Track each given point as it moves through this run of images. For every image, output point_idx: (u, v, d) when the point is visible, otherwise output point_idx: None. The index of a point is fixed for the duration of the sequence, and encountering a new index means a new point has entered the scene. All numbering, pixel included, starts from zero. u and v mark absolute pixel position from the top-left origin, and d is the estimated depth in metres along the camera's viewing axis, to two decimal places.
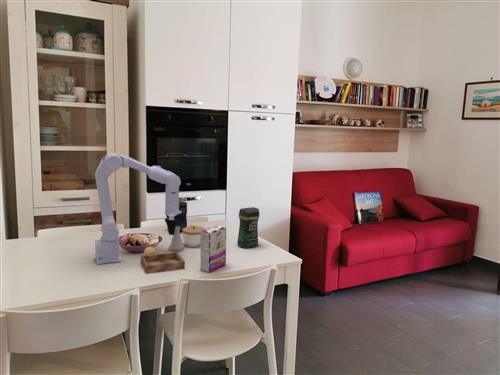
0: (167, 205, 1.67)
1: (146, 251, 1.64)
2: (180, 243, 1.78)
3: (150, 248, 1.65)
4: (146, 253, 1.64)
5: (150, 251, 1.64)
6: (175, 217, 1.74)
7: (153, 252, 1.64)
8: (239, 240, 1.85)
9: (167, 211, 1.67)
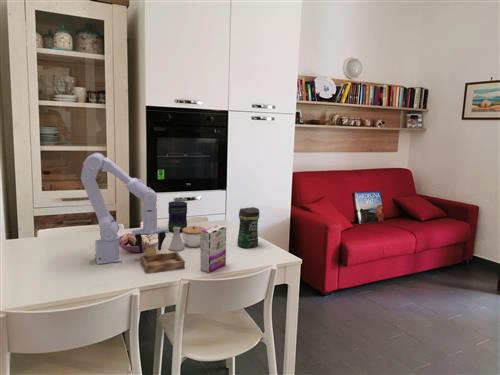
0: None
1: (146, 251, 1.64)
2: (180, 243, 1.78)
3: (150, 248, 1.65)
4: (146, 253, 1.64)
5: (150, 251, 1.64)
6: (159, 238, 1.65)
7: (153, 252, 1.64)
8: (239, 240, 1.85)
9: None
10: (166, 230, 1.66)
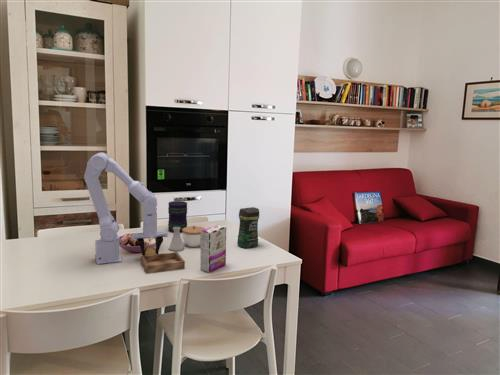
0: None
1: (146, 251, 1.64)
2: (180, 243, 1.78)
3: (150, 248, 1.65)
4: (146, 253, 1.64)
5: (150, 251, 1.64)
6: (157, 242, 1.65)
7: (153, 252, 1.64)
8: (239, 240, 1.85)
9: None
10: (166, 234, 1.67)
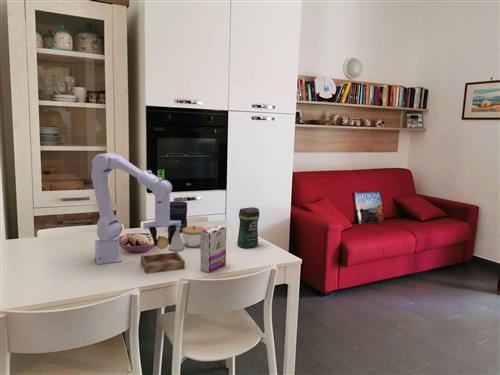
0: None
1: (158, 241, 1.55)
2: (180, 243, 1.78)
3: (162, 238, 1.56)
4: (158, 243, 1.55)
5: (162, 241, 1.55)
6: (170, 231, 1.56)
7: (166, 242, 1.56)
8: (239, 240, 1.85)
9: None
10: (179, 223, 1.58)
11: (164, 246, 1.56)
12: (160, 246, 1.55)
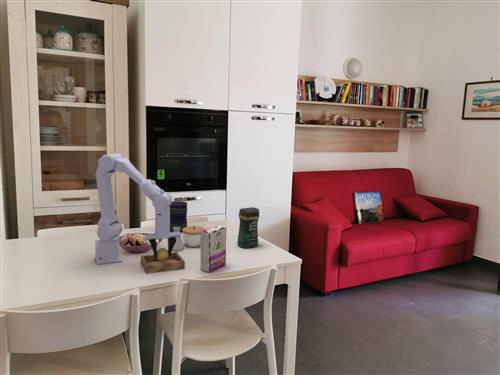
0: None
1: (158, 253, 1.56)
2: (180, 243, 1.78)
3: (162, 250, 1.57)
4: (158, 255, 1.56)
5: (162, 253, 1.56)
6: (169, 243, 1.57)
7: (166, 254, 1.57)
8: (239, 240, 1.85)
9: None
10: (179, 235, 1.59)
11: (164, 258, 1.56)
12: (160, 258, 1.56)
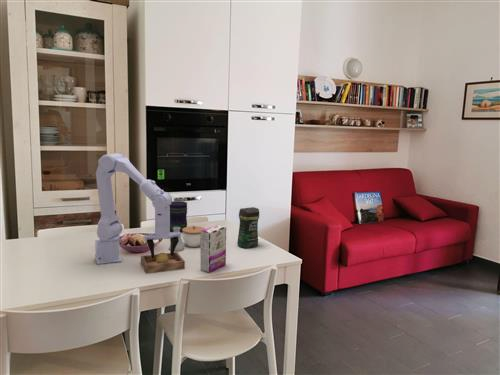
0: None
1: (158, 257, 1.56)
2: (180, 243, 1.78)
3: (162, 254, 1.57)
4: (158, 260, 1.56)
5: (162, 258, 1.56)
6: (172, 243, 1.57)
7: (166, 258, 1.57)
8: (239, 240, 1.85)
9: None
10: (179, 235, 1.59)
11: (164, 262, 1.57)
12: (160, 262, 1.56)
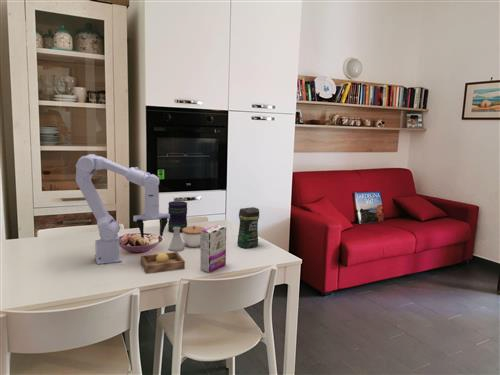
0: None
1: (158, 258, 1.56)
2: (180, 243, 1.78)
3: (162, 254, 1.57)
4: (158, 260, 1.56)
5: (162, 258, 1.56)
6: (161, 223, 1.63)
7: (166, 258, 1.57)
8: (239, 240, 1.85)
9: None
10: (168, 216, 1.64)
11: (164, 262, 1.57)
12: None
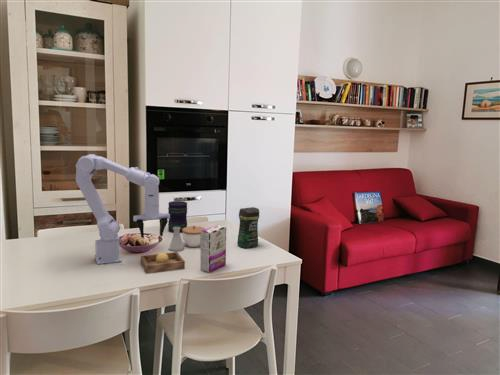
0: None
1: (158, 258, 1.56)
2: (180, 243, 1.78)
3: (162, 254, 1.57)
4: (158, 260, 1.56)
5: (162, 258, 1.56)
6: (161, 223, 1.63)
7: (165, 258, 1.57)
8: (239, 240, 1.85)
9: None
10: (168, 216, 1.64)
11: None
12: None
